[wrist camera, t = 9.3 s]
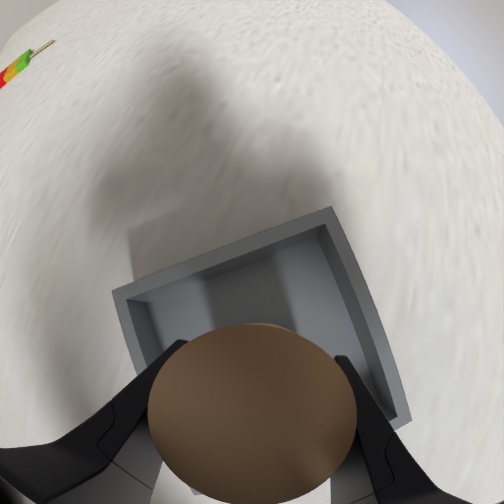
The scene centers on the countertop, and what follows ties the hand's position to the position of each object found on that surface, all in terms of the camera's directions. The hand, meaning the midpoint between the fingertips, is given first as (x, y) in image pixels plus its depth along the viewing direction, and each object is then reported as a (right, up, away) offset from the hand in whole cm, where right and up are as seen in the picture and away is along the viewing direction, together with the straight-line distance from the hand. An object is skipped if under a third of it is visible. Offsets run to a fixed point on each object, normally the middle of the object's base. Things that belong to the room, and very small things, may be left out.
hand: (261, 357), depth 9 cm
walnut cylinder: (0, -3, +6) cm, 7 cm away
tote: (0, -3, +8) cm, 9 cm away
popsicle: (-43, +38, +22) cm, 61 cm away
